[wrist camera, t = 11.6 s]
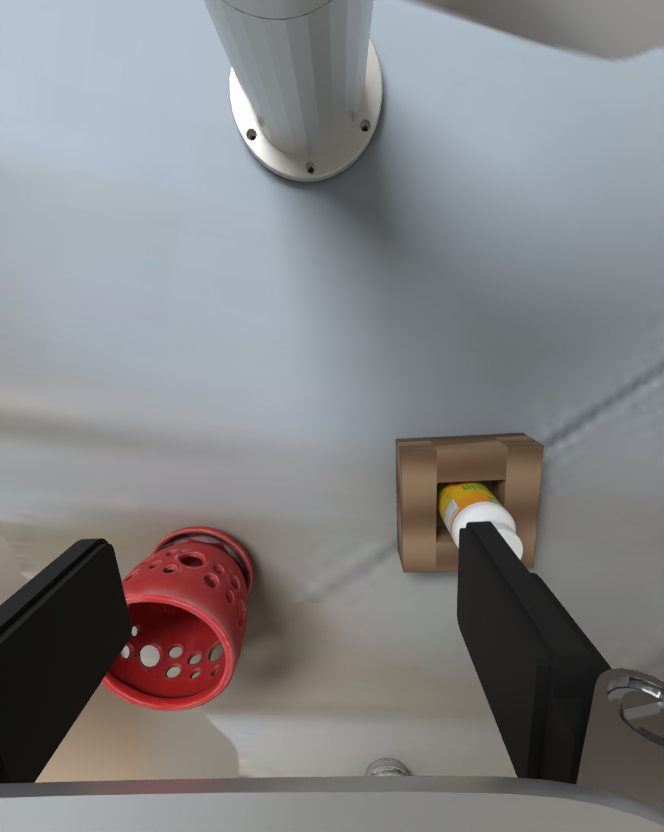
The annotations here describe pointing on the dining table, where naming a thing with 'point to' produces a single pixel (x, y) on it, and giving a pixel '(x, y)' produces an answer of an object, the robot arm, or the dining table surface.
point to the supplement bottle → (475, 511)
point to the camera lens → (386, 768)
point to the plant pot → (184, 619)
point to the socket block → (457, 462)
